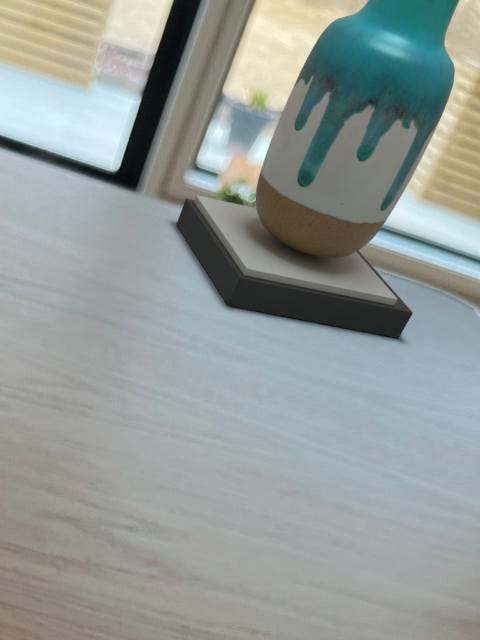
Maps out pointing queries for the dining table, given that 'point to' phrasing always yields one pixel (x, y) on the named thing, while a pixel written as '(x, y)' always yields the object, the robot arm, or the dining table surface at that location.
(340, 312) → the scale
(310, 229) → the vase
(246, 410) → the dining table surface
